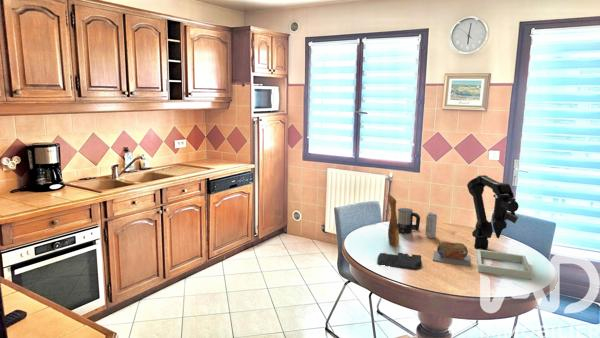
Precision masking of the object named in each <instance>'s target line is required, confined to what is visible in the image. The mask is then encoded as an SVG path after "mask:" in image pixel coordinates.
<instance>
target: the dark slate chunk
mask: <svg viewBox="0 0 600 338" xmlns="http://www.w3.org/2000/svg"><path fill="white" fill-rule="evenodd" d="M376 263H377V265H378V266H381V265H385V266H384V267H388V266H390V268H395V269H404V270H405V269H406V270H411V271H418V270H421V267H422V263H423V262H422V256H421V254H411V256H410V255H409V253H403V252H398V253H397V254H392V253H387V252H386V253H385V252H380V253H379V254H378V256H377V262H376Z"/></svg>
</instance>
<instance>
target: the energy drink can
mask: <svg viewBox="0 0 600 338" xmlns="http://www.w3.org/2000/svg"><path fill="white" fill-rule="evenodd" d="M437 222H438V215H437V213H436V212H433V211H428V212H427V214H426V219H425V234H424V235H425V237H426V236H427V237H426V238H428V237H429V239H434V238H435V237H436V235H437V234H436V233H437Z"/></svg>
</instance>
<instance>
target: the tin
mask: <svg viewBox="0 0 600 338" xmlns="http://www.w3.org/2000/svg"><path fill="white" fill-rule="evenodd" d="M468 250H469V249H468V248H467V246H466V245H465V244H464V243H462V242H454V241H453V242H452V241H447V240H446V241H445V240H444V241H440V242H439V244H438V245H437V248H436V251H438V254H439V255H440V256H442V257H445V258H452V259H464V258H465V257H466V256H467V255H468V253H469V252H468Z"/></svg>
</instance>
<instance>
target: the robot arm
mask: <svg viewBox="0 0 600 338" xmlns="http://www.w3.org/2000/svg"><path fill="white" fill-rule="evenodd" d="M466 187H467V190H468V193H469V194H470V195H471V197H472V199H473V204H474V205H473V206H474V210H475V214H476V215H475V216H476V223H475V229H474V230H473V231H472V232H471V233H472V234H471V235H472V237H473V238H474V244H473V247H474V249H476V250H477V249H478V250H486V251H488V248H489V239H491V238H492V235H493V232H494V233H495V234H494V235H495V236H496V238H497V239H500V237H501V234H502V233H503V230H504V229H507V225H508V224H507V220H508V221H509V222H512V223H513V224H516V222H517V221H518V219H519V216H518V215H516V213H515V212H517V211H518V209H519V208H520V205H519V203H518V201H516V198H515V196H514V192H513V190H512V187H511V185H510V184H509V183H506V182H499V181H498V180H495V179H493V178H492V177H489V176H488V175H482V174H480V175H477V176H476V177H475V178H473V179H471V180H470V181H468V182H467V185H466ZM485 187H488V188H490V189H491V190H492V192H493V193H494V194H493V196H492V197H494V207H493V213H492V214H491V219H492V220H491V221H492V222H491V221H489V220H488V218H487V215H486V214H487V213H486V210H485V209H486V208H485V204H484V198H483V194H484V192H485V191H484V190H485V189H484V188H485ZM493 230H494V231H493Z"/></svg>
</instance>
